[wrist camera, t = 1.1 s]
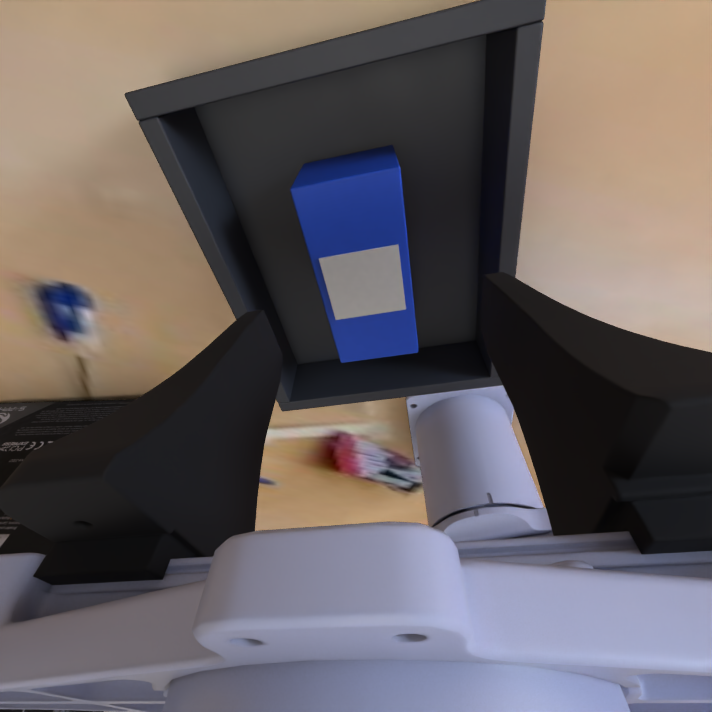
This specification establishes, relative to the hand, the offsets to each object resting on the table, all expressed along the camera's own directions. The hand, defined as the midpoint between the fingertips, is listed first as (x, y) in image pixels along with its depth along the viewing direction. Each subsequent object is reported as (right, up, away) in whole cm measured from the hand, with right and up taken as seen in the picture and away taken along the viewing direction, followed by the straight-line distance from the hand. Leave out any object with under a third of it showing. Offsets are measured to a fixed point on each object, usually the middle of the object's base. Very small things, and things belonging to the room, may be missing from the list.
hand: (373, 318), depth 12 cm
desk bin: (0, +5, +7) cm, 9 cm away
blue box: (0, +5, +7) cm, 8 cm away
